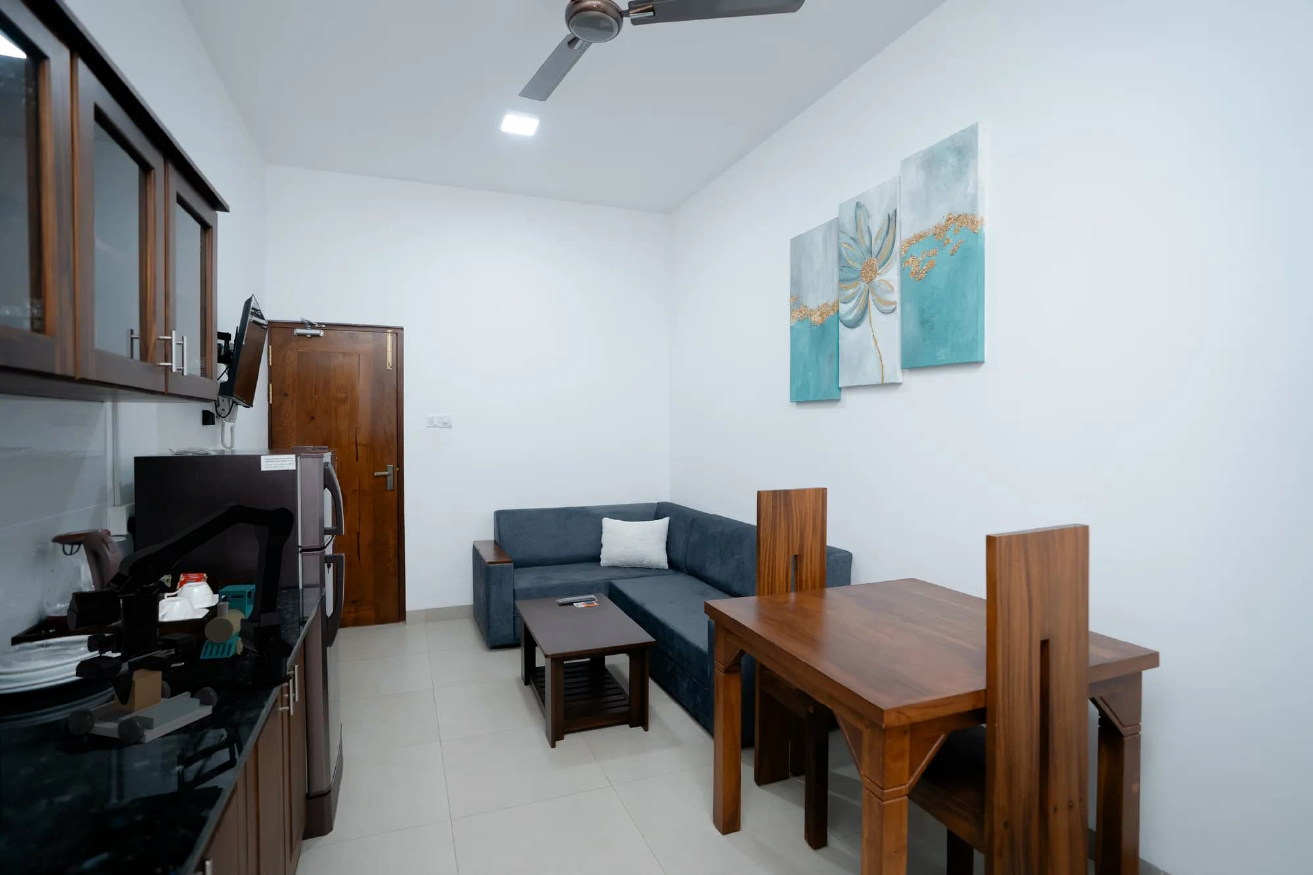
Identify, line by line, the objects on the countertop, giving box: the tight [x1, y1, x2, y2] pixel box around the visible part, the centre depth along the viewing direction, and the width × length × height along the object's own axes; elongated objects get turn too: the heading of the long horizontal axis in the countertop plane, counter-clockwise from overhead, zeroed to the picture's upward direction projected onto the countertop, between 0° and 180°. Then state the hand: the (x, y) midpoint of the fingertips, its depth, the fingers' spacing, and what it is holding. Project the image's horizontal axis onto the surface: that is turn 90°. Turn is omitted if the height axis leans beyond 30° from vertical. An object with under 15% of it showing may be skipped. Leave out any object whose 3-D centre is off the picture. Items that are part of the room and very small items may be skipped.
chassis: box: [67, 679, 218, 746], centre depth 123 cm, size 16×17×4 cm
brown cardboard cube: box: [114, 668, 162, 712], centre depth 124 cm, size 5×5×6 cm
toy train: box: [199, 584, 255, 660], centre depth 164 cm, size 8×17×15 cm, turn 15°
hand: (138, 698), depth 124 cm, fingers closed on brown cardboard cube, 5 cm apart
